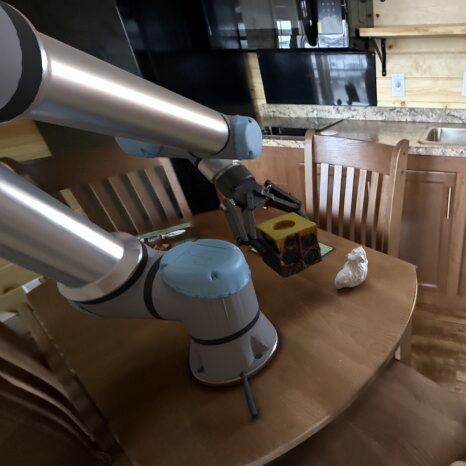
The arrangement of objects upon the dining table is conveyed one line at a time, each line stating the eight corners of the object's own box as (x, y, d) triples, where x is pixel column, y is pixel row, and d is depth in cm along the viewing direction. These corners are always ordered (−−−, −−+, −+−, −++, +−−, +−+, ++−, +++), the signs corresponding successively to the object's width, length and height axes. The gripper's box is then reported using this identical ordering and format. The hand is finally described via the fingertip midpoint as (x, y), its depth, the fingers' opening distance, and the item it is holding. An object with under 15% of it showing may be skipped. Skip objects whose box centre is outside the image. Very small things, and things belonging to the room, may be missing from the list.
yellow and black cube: (323, 261, 74) (318, 223, 69) (284, 280, 67) (276, 240, 63) (299, 246, 80) (293, 210, 75) (261, 262, 73) (252, 224, 69)
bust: (341, 302, 78) (363, 281, 71) (320, 280, 78) (340, 257, 71) (367, 276, 87) (389, 255, 80) (348, 256, 87) (368, 234, 80)
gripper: (260, 168, 80) (318, 231, 83) (170, 205, 60) (251, 286, 63) (274, 150, 76) (334, 216, 79) (182, 182, 56) (268, 269, 59)
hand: (298, 247), depth 71 cm, fingers closed on yellow and black cube, 12 cm apart
